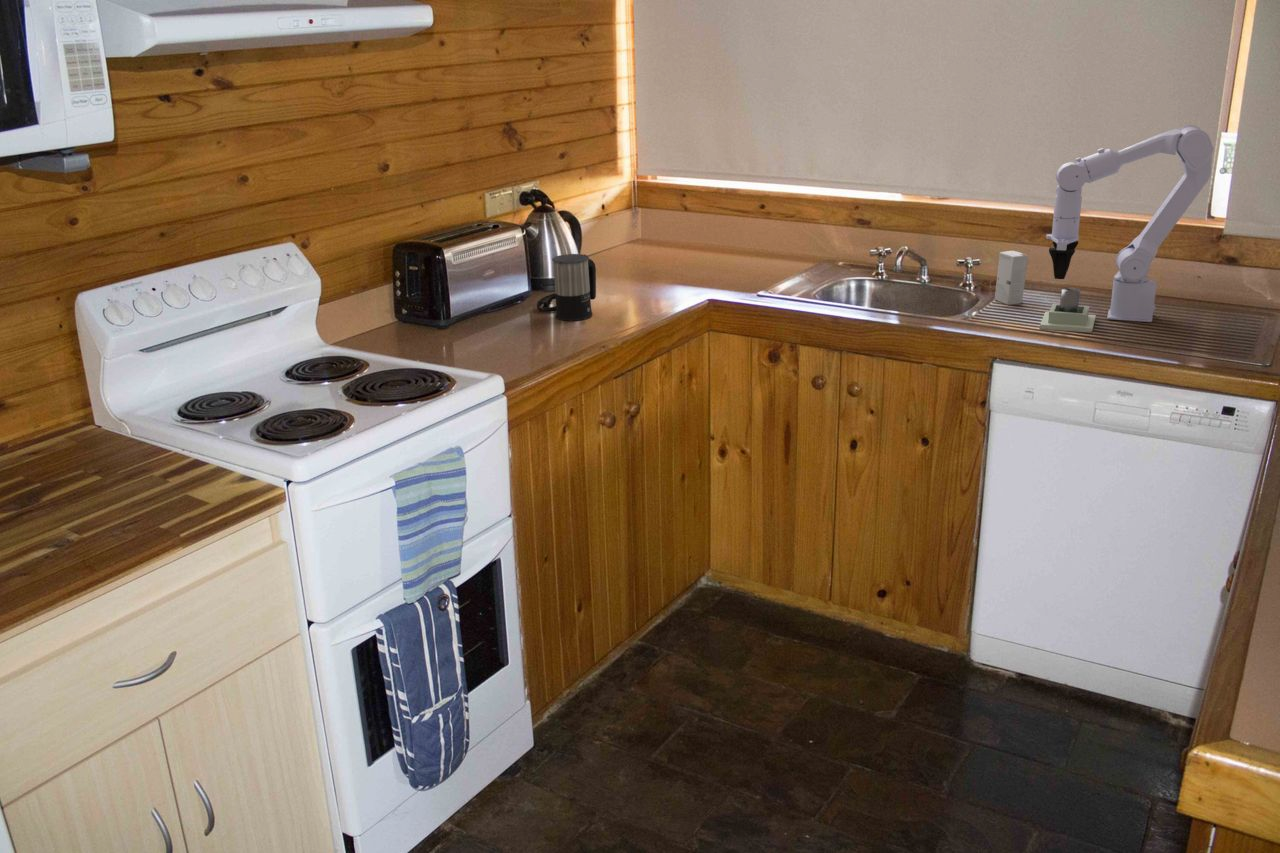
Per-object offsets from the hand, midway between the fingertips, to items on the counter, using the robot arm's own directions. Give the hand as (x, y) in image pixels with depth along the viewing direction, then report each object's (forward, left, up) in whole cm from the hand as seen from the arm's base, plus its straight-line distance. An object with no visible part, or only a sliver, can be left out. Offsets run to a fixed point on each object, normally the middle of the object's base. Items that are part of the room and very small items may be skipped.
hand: (1061, 275), depth 263 cm
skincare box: (+12, -9, -10) cm, 18 cm away
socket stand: (-3, +8, -9) cm, 13 cm away
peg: (-3, +8, -8) cm, 12 cm away
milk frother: (+114, +33, -10) cm, 119 cm away
